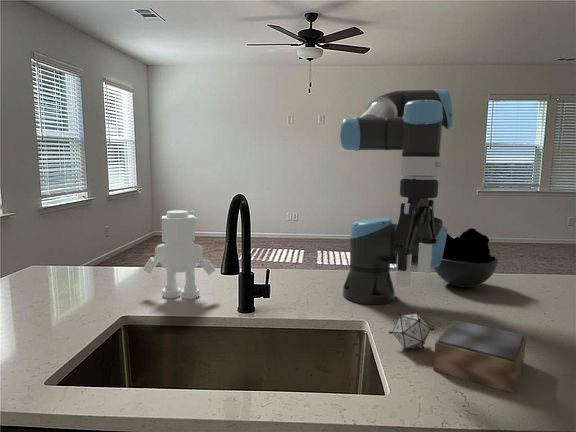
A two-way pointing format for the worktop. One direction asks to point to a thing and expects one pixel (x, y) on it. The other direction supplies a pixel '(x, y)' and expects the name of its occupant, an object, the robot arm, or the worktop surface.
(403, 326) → the game die
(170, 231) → the robot toy
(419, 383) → the worktop surface
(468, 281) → the coal bowl
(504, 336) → the walnut framed square mirror
